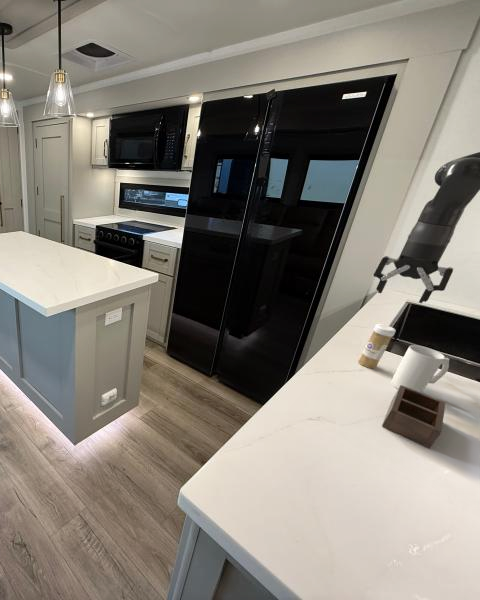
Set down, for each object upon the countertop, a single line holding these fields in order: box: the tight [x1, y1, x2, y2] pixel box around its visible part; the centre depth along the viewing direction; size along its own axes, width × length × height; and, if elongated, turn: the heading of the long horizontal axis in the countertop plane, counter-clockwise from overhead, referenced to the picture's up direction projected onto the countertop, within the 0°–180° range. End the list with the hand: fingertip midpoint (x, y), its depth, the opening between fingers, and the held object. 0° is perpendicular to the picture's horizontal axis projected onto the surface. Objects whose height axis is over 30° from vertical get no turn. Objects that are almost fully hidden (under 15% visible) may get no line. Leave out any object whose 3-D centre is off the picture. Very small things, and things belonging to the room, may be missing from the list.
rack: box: [381, 385, 446, 449], centre depth 74 cm, size 8×15×5 cm, turn 130°
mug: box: [390, 344, 451, 393], centre depth 84 cm, size 10×7×12 cm, turn 78°
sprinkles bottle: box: [357, 323, 397, 369], centre depth 94 cm, size 5×5×13 cm
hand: (399, 297), depth 88 cm, fingers open, 8 cm apart
